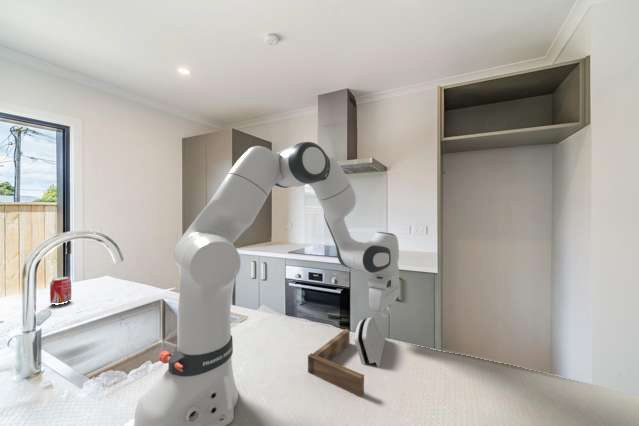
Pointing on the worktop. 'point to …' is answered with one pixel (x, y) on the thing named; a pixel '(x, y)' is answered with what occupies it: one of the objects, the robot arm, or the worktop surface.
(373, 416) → the worktop surface
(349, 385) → the wooden corner bracket
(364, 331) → the white black-banded slab
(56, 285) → the soda can
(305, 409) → the worktop surface
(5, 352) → the worktop surface
